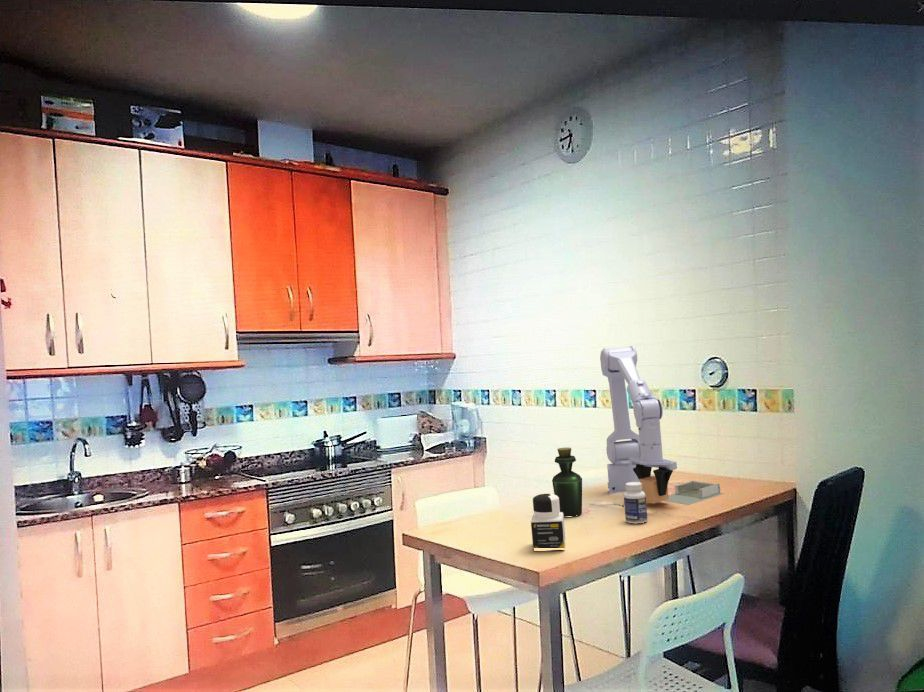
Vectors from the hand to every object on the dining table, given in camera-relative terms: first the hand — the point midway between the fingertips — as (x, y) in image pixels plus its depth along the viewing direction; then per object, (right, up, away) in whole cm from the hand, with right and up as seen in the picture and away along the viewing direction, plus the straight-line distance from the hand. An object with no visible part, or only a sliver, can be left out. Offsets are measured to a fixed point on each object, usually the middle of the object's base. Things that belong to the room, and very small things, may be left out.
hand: (654, 493), depth 181 cm
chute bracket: (+14, -2, +8) cm, 16 cm away
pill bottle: (-8, -5, -11) cm, 14 cm away
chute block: (0, -2, 0) cm, 2 cm away
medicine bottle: (-32, -7, -26) cm, 41 cm away
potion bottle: (-23, -6, +2) cm, 23 cm away
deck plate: (+12, -3, +6) cm, 13 cm away
